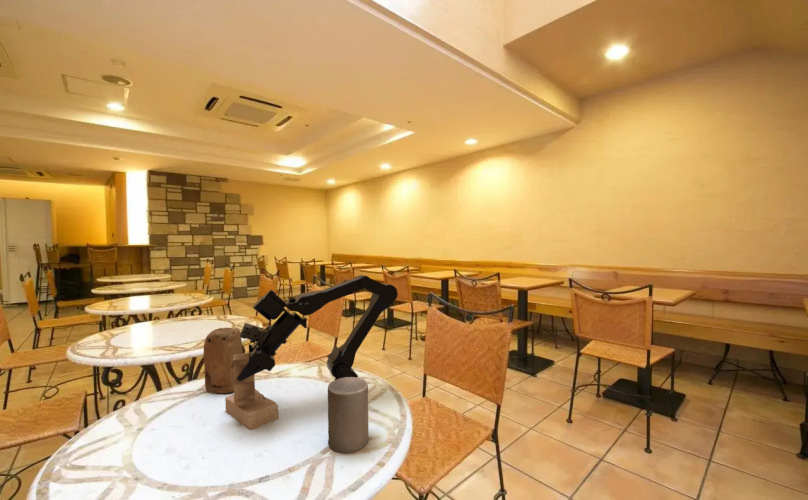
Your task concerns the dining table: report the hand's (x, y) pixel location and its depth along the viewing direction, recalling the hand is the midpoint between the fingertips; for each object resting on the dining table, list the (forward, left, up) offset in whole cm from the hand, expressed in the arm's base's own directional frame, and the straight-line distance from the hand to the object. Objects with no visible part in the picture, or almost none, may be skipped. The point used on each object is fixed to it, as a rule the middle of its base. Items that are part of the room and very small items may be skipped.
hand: (238, 376), depth 90 cm
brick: (-1, -4, -13) cm, 14 cm away
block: (+16, -21, -12) cm, 29 cm away
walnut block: (-1, -1, -7) cm, 7 cm away
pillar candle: (-31, +9, -12) cm, 35 cm away
